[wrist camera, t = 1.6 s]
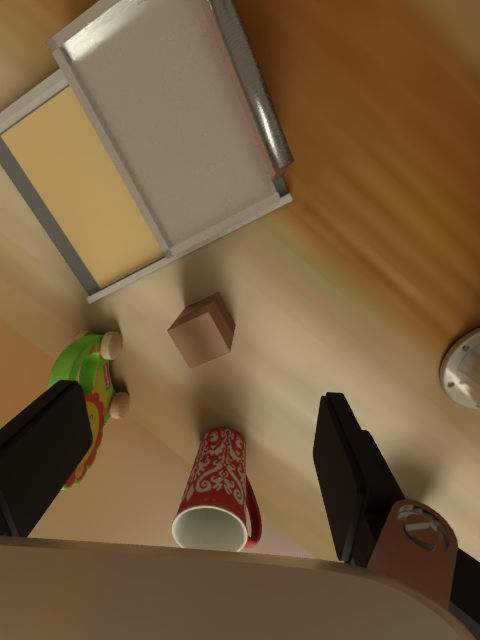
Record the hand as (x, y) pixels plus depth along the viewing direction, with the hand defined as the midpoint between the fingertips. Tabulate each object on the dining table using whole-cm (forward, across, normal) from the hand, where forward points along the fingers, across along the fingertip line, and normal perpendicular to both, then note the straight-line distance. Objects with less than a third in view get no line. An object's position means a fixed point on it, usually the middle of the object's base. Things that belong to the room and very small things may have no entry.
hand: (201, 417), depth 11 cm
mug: (+26, +1, +28) cm, 39 cm away
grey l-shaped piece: (+25, +6, -15) cm, 30 cm away
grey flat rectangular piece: (+26, +11, -12) cm, 31 cm away
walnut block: (+26, +4, +5) cm, 27 cm away
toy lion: (+26, +19, +15) cm, 36 cm away
